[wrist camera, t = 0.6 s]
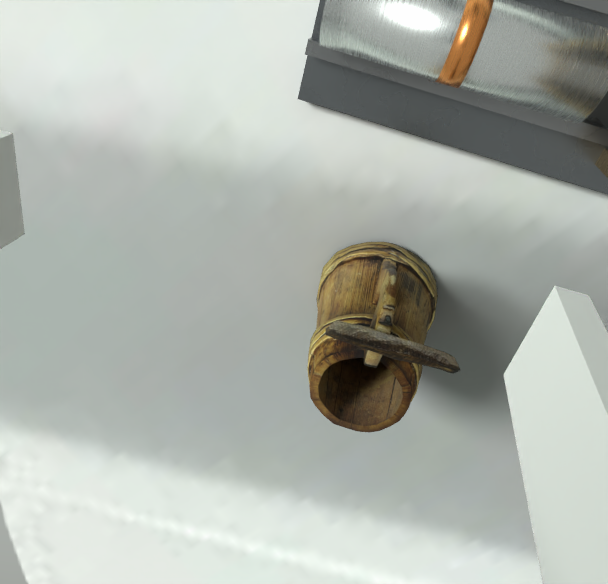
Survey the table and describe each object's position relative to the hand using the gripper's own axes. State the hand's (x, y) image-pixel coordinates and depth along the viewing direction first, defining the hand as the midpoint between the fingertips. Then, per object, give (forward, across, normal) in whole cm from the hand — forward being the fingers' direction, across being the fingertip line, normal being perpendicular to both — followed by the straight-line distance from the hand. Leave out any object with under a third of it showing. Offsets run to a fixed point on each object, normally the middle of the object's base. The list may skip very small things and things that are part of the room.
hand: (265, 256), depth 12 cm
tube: (+22, +4, +4) cm, 22 cm away
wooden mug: (+23, +5, -12) cm, 26 cm away
